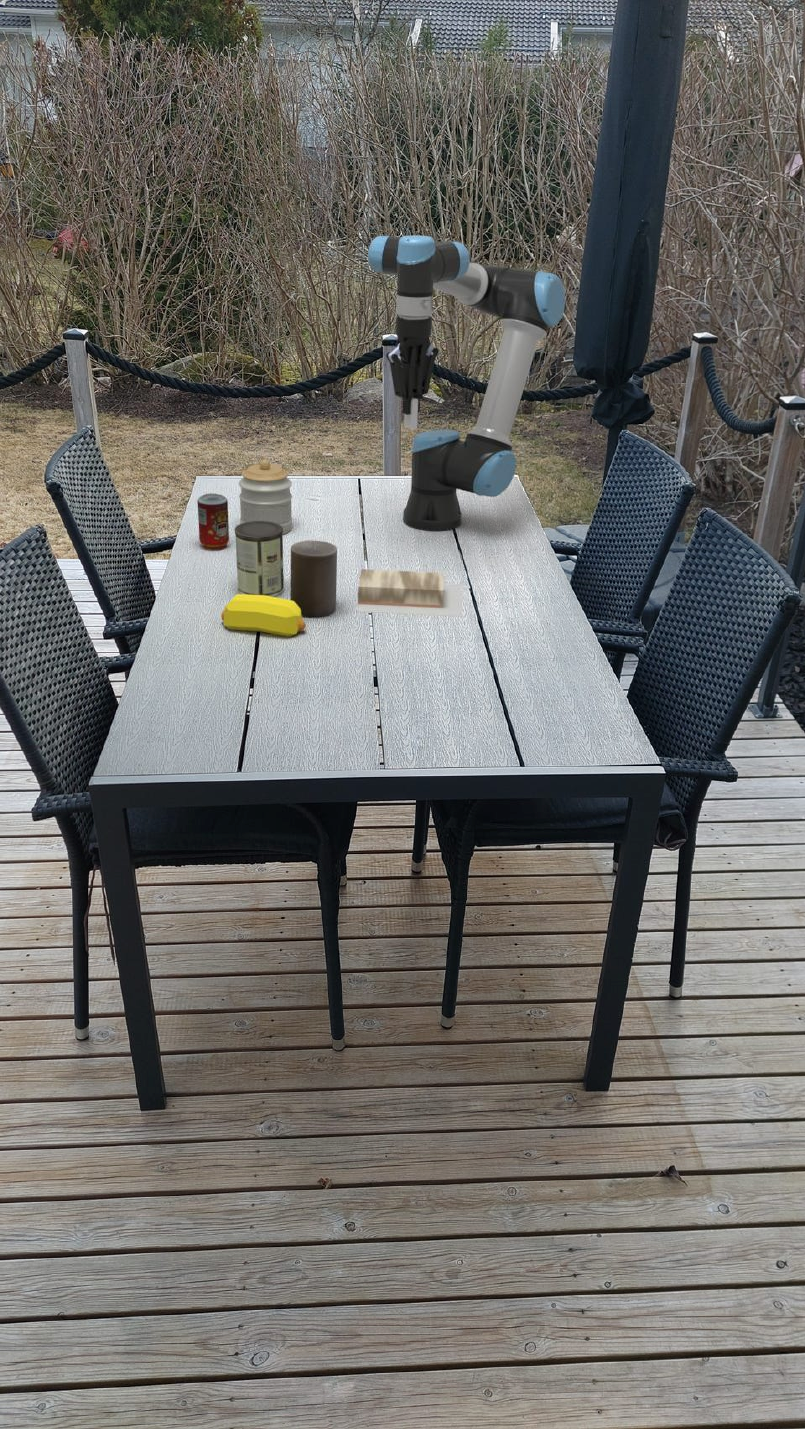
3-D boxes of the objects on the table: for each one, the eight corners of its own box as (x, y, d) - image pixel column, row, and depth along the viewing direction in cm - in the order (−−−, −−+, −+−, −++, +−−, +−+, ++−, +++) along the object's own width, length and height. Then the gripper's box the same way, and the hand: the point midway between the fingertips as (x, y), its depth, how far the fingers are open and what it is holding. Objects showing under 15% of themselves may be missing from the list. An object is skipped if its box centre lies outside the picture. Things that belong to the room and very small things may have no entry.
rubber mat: (461, 587, 249) (461, 584, 248) (462, 619, 233) (462, 616, 233) (363, 582, 249) (363, 579, 249) (357, 615, 233) (357, 611, 233)
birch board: (443, 573, 243) (361, 569, 243) (443, 590, 234) (358, 586, 235) (442, 589, 245) (361, 586, 245) (442, 607, 236) (357, 603, 236)
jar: (302, 527, 280) (302, 458, 271) (270, 541, 270) (269, 470, 262) (262, 516, 286) (260, 449, 277) (229, 530, 276) (226, 460, 268)
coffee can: (252, 577, 249) (250, 517, 243) (292, 586, 246) (291, 525, 239) (227, 593, 241) (225, 531, 234) (268, 602, 238) (267, 540, 231)
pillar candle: (301, 621, 230) (301, 552, 222) (283, 603, 237) (283, 536, 230) (343, 614, 234) (345, 546, 227) (325, 597, 241) (326, 531, 234)
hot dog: (228, 616, 231) (214, 631, 224) (226, 586, 228) (213, 600, 221) (311, 626, 228) (300, 642, 221) (311, 596, 225) (299, 611, 218)
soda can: (215, 553, 262) (213, 503, 256) (193, 547, 265) (190, 497, 259) (235, 545, 267) (233, 496, 261) (213, 539, 270) (211, 490, 264)
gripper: (401, 322, 226) (398, 436, 238) (449, 316, 234) (444, 427, 245) (378, 316, 231) (376, 428, 243) (426, 310, 239) (422, 420, 250)
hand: (410, 428), depth 244 cm, fingers closed
